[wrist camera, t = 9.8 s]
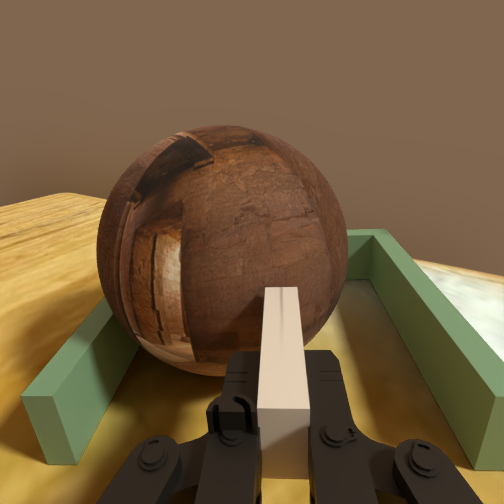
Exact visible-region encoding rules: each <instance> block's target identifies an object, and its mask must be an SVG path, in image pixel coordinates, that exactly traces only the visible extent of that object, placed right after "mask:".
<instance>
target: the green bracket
mask: <svg viewBox="0 0 504 504" xmlns="http://www.w3.org/2000/svg"><path fill="white" fill-rule="evenodd" d="M347 237H348V265H347V272H346V277H345V280H350V279H369V280H370V281H371V283H372V285H373V287H374V289H375V291H376V292H377V294H378V296H379V298H380V300H381V302H382V303H383V305H384V307H385V309H386V311H387V312H388V314H389V316H390V318H391V320H392V322H393V323H394V325H395V327H396V329H397V331H398V332H399V334H400V336H401V338H402V340H403V342H404V343H405V345H406V347H407V349H408V351H409V352H410V354H411V356H412V358H413V360H414V362H415V363H416V365H417V367H418V369H419V371H420V372H421V374H422V376H423V378H424V380H425V382H426V383H427V385H428V387H429V389H430V391H431V392H432V394H433V396H434V398H435V400H436V402H437V403H438V405H439V407H440V409H441V411H442V413H443V414H444V416H445V418H446V420H447V422H448V423H449V425H450V427H451V429H452V431H453V433H454V434H455V436H456V438H457V440H458V442H459V443H460V445H461V447H462V449H463V451H464V453H465V454H466V456H467V458H468V460H469V462H470V463H471V465H472V467H473V469H474V470H484V471H504V362H503V361H502V360H501V359H500V358H499V356H498V355H497V354H496V353H495V352H494V351H493V350H492V349H491V347H490V346H489V345H488V344H487V343H486V342H485V341H484V340H483V338H482V337H481V336H480V335H479V334H478V333H477V332H476V331H475V329H474V328H473V327H472V326H471V325H470V324H469V323H468V321H467V320H466V319H465V318H464V317H463V316H462V315H461V314H460V312H459V311H458V310H457V309H456V308H455V307H454V306H453V305H452V303H451V302H450V301H449V300H448V299H447V298H446V297H445V296H444V294H443V293H442V292H441V291H440V290H439V289H438V288H437V287H436V285H435V284H434V283H433V282H432V281H431V280H430V279H429V278H428V276H427V275H426V274H425V273H424V272H423V271H422V270H421V269H420V267H419V266H418V265H417V264H416V263H415V262H414V261H413V260H412V258H411V257H410V256H409V255H408V254H407V253H406V252H405V251H404V249H403V248H402V247H401V246H400V245H399V244H398V243H397V242H396V240H394V238H393V237H392V236H391V235H390V234H389V233H388V231H387V230H386V229H365V230H347ZM139 347H140V345H139V344H138V343H136V342H135V341H134V340H133V339H132V338H131V337H130V335H129V334H128V333H127V332H126V331H125V330H124V328H123V327H122V326H121V324H120V323H119V322H118V320H117V319H116V317H115V315H114V314H113V312H112V310H111V308H110V306H109V304H108V302H107V300H106V297H105V296H104V298H103V299H102V300H101V301H100V302H99V303H98V305H97V306H96V307H95V308H94V309H93V311H92V312H91V313H90V314H89V315H88V317H87V318H86V319H85V320H84V321H83V322H82V324H81V325H80V326H79V327H78V328H77V330H76V331H75V332H74V333H73V334H72V335H71V337H70V338H69V339H68V340H67V341H66V343H65V344H64V345H63V346H62V347H61V349H60V350H59V351H58V352H57V353H56V354H55V356H54V357H53V358H52V359H51V360H50V362H49V363H48V364H47V365H46V366H45V367H44V369H43V370H42V371H41V372H40V373H39V375H38V376H37V377H36V378H35V379H34V381H33V382H32V383H31V384H30V385H29V386H28V388H27V389H26V390H25V391H24V392H23V394H22V395H21V399H22V401H23V404H24V406H25V409H26V411H27V414H28V416H29V419H30V421H31V424H32V426H33V429H34V431H35V434H36V436H37V439H38V441H39V444H40V446H41V449H42V451H43V454H44V456H45V459H46V461H47V464H48V465H77V464H78V462H79V460H80V458H81V456H82V454H83V453H84V451H85V449H86V447H87V445H88V443H89V441H90V439H91V437H92V436H93V434H94V432H95V430H96V428H97V426H98V424H99V422H100V420H101V419H102V417H103V415H104V413H105V411H106V409H107V407H108V405H109V403H110V402H111V400H112V398H113V396H114V394H115V392H116V390H117V388H118V386H119V385H120V383H121V381H122V379H123V377H124V375H125V373H126V371H127V369H128V368H129V366H130V364H131V362H132V360H133V358H134V356H135V354H136V353H137V351H138V349H139Z"/></svg>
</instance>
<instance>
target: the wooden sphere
mask: <svg viewBox="0 0 504 504" xmlns="http://www.w3.org/2000/svg"><path fill="white" fill-rule="evenodd" d="M96 251H97V267H98V273H99V278H100V282H101V286H102V289H103V292H104V295H105V297H106V300H107V302H108V304H109V306H110V308H111V310H112V312H113V314H114V315H115V317H116V319H117V320H118V322H119V323H120V324H121V326H122V327H123V328H124V330H125V331H126V332H127V333H128V334H129V335H130V337H131V338H132V339H133V340H134V341H135V342H136V343H138V344H139V345H140V346H141V347H142V348H143V349H145V350H146V351H147V352H149V353H150V354H151V355H153V356H155V357H156V358H158V359H159V360H161V361H163V362H165V363H167V364H169V365H171V366H174V367H176V368H179V369H181V370H184V371H188V372H192V373H196V374H201V375H208V376H225V374H226V369H227V364H228V360H229V359H230V358H231V356H232V355H233V354H234V353H235V351H261V343H262V328H263V314H264V299H265V287H297V290H298V299H299V309H300V318H301V328H302V337H303V347H304V346H305V345H306V344H307V343H308V342H309V341H311V340H312V339H313V338H314V336H315V335H316V334H317V333H318V332H319V331H320V329H321V328H322V327H323V326H324V324H325V323H326V321H327V320H328V318H329V317H330V315H331V314H332V312H333V310H334V308H335V306H336V304H337V302H338V299H339V297H340V294H341V292H342V289H343V285H344V281H345V277H346V272H347V265H348V237H347V230H346V224H345V220H344V217H343V214H342V210H341V207H340V205H339V202H338V200H337V198H336V196H335V194H334V192H333V190H332V188H331V187H330V185H329V183H328V182H327V181H326V179H325V177H324V176H323V175H322V173H321V172H320V171H319V170H318V169H317V167H316V166H314V164H313V163H312V162H311V161H309V159H308V158H306V157H305V156H304V155H303V154H302V153H301V152H299V151H298V150H297V149H295V148H294V147H292V146H291V145H289V144H288V143H286V142H284V141H282V140H281V139H279V138H277V137H274V136H272V135H270V134H267V133H264V132H261V131H258V130H254V129H250V128H246V127H240V126H229V125H218V126H217V125H215V126H205V127H199V128H195V129H190V130H187V131H183V132H180V133H178V134H175V135H173V136H170V137H168V138H166V139H164V140H163V141H161V142H159V143H157V144H155V145H154V146H152V147H151V148H150V149H148V150H147V151H145V152H144V153H143V154H142V155H141V156H139V157H138V158H137V159H136V160H135V161H134V162H133V163H132V164H131V165H130V166H129V167H128V168H127V169H126V171H125V172H124V173H123V174H122V176H121V177H120V179H119V180H118V181H117V183H116V185H115V186H114V188H113V190H112V191H111V193H110V196H109V197H108V200H107V202H106V204H105V207H104V210H103V212H102V216H101V219H100V224H99V228H98V235H97V249H96Z"/></svg>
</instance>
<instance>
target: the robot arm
mask: <svg viewBox="0 0 504 504" xmlns="http://www.w3.org/2000/svg"><path fill="white" fill-rule="evenodd" d="M206 416H207V423H208V430H209V431H208V432H207V433H206V434H205V435H203V436H202V437H200V438H198V439H195V440H192V441H189V442H185V443H182V444H178V445H177V443H176V442H175V440H174V439H172V438H170V437H168V436H155V437H151V438H148V439H146V440H144V441H143V442H141V443H139V444H138V445H137V447H136V448H135V449H134V450H133V451H132V452H131V454H130V455H129V456H128V458H127V459H126V461H125V462H124V464H123V465H122V467H121V468H120V470H119V471H118V472H117V474H116V475H115V477H114V478H113V480H112V481H111V483H110V484H109V486H108V487H107V489H106V490H105V491H104V493H103V494H102V496H101V497H100V499H99V500H98V502H97V503H96V504H262V493H261V478H274V479H309V484H310V504H483V503H482V501H481V500H480V499H479V497H478V496H477V495H476V493H475V492H474V491H473V489H472V488H471V487H470V485H469V484H468V483H467V481H466V480H465V479H464V478H463V476H462V475H461V474H460V472H459V471H458V470H457V468H456V467H455V466H454V464H453V463H452V462H451V460H450V459H449V458H448V457H447V456H446V455H445V454H444V453H443V452H442V451H441V450H440V449H439V448H437V447H436V446H434V445H432V444H431V443H429V442H425V441H422V440H418V439H412V440H406V441H404V442H401V443H400V444H399V445H398V446H397V448H394V447H391V446H388V445H385V444H381V443H378V442H376V441H374V440H371V439H370V438H368V437H367V436H365V435H364V434H363V433H362V432H361V431H360V430H359V429H358V428H357V427H356V425H355V424H354V421H353V418H352V414H351V410H350V406H349V402H348V397H347V393H346V389H345V385H344V380H343V376H342V373H341V368H340V363H339V360H338V359H337V357H336V356H335V355H334V354H333V353H332V351H331V350H304V347H303V337H302V328H301V318H300V309H299V299H298V290H297V287H265V299H264V314H263V328H262V343H261V351H235V353H234V354H233V355H232V356H231V358H230V359H229V360H228V364H227V369H226V374H225V379H224V385H223V390H222V395H221V396H219V397H217V398H215V399H214V400H213V401H212V402H211V403H210V404H209V406H208V408H207V410H206Z"/></svg>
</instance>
